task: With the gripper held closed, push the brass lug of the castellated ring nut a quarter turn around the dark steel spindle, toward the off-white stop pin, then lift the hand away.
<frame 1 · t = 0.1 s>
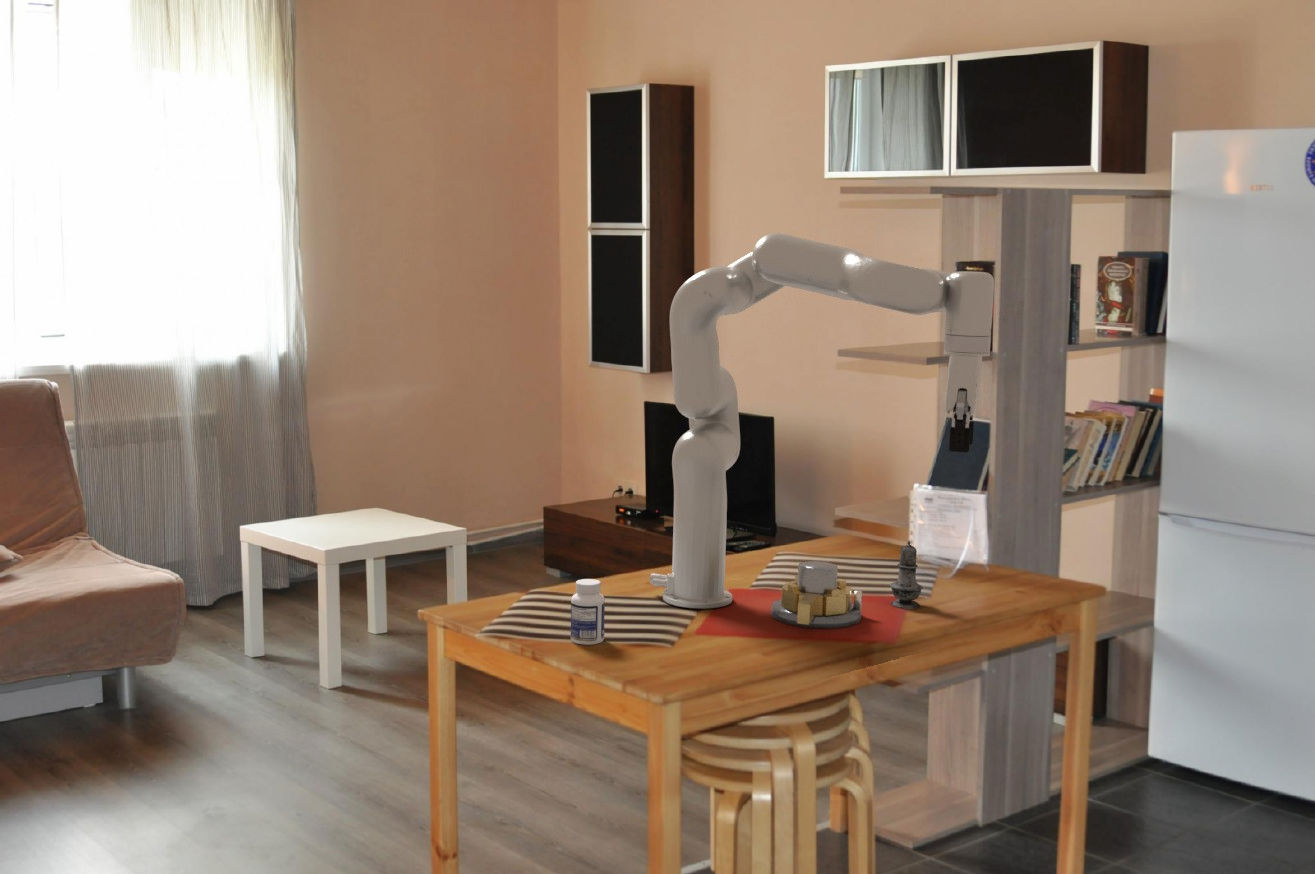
hand: (960, 447, 223), 31 cm above the table, fingers open, 9 cm apart
pill bottle: (587, 641, 214), on the table
ring nut: (813, 598, 229), point 4 cm above the table, hinge at 0.0°
salt shaker: (905, 606, 242), on the table
spindle base: (815, 616, 232), on the table
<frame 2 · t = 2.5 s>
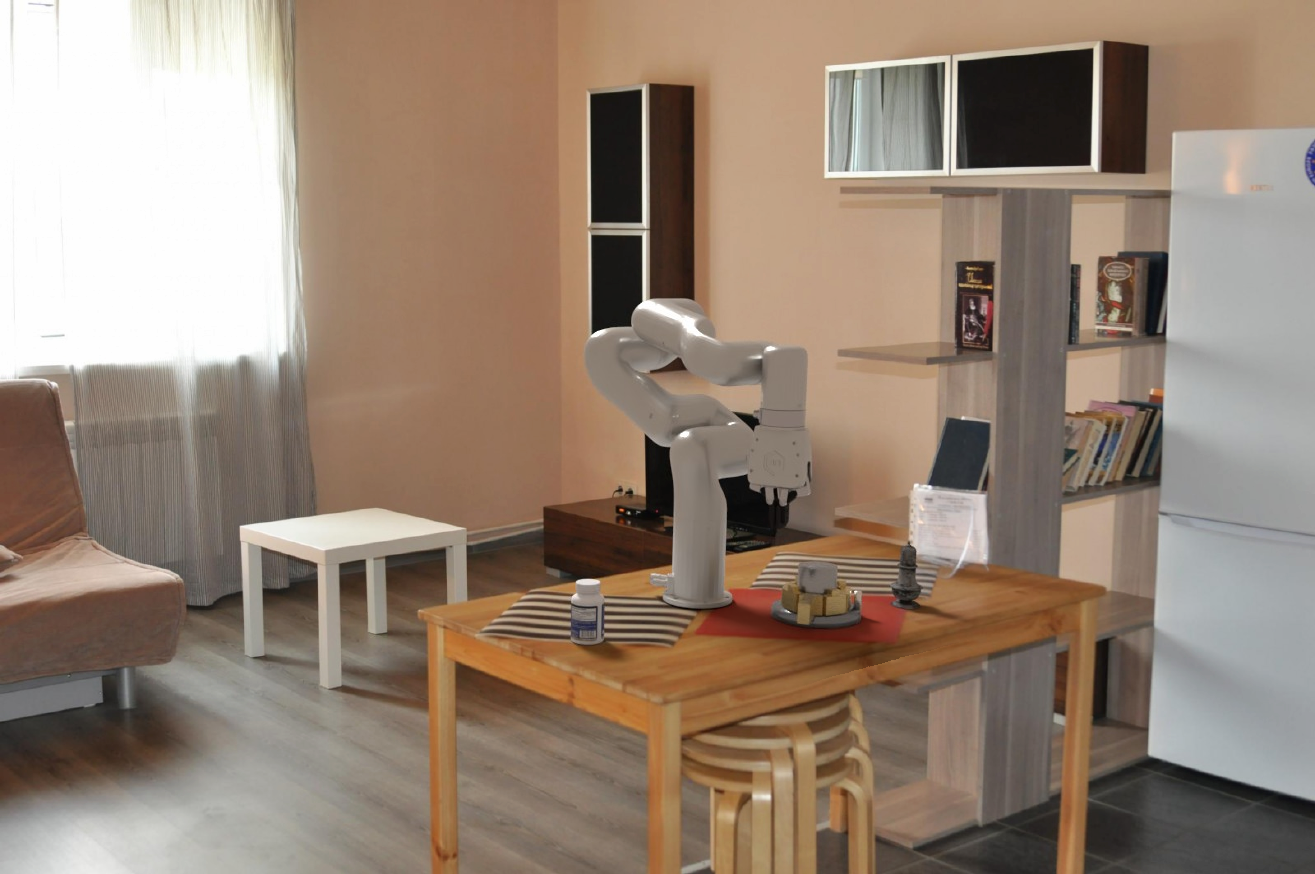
hand: (778, 527, 224), 17 cm above the table, fingers closed
nothing on the table moved.
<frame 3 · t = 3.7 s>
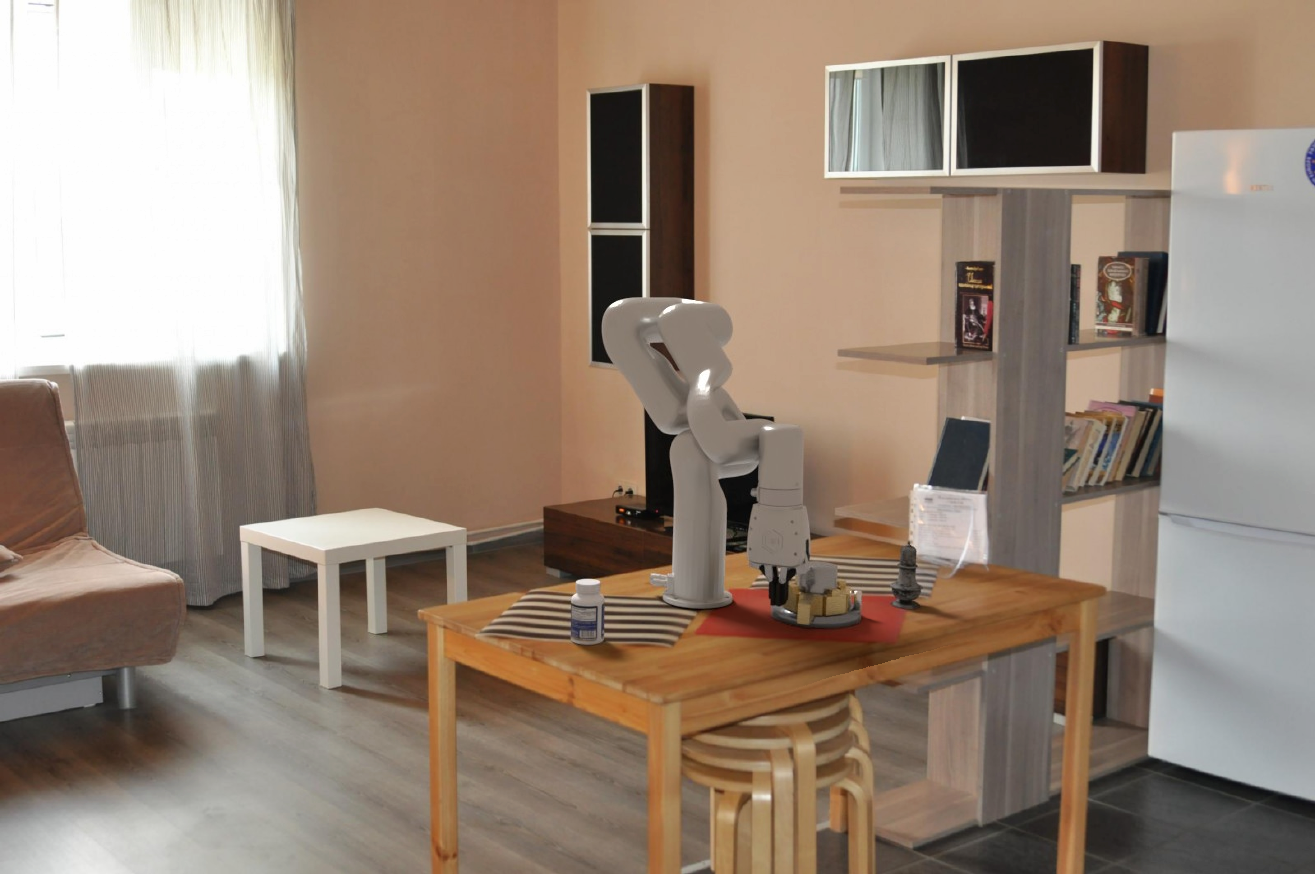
hand: (778, 604, 225), 4 cm above the table, fingers closed
nothing on the table moved.
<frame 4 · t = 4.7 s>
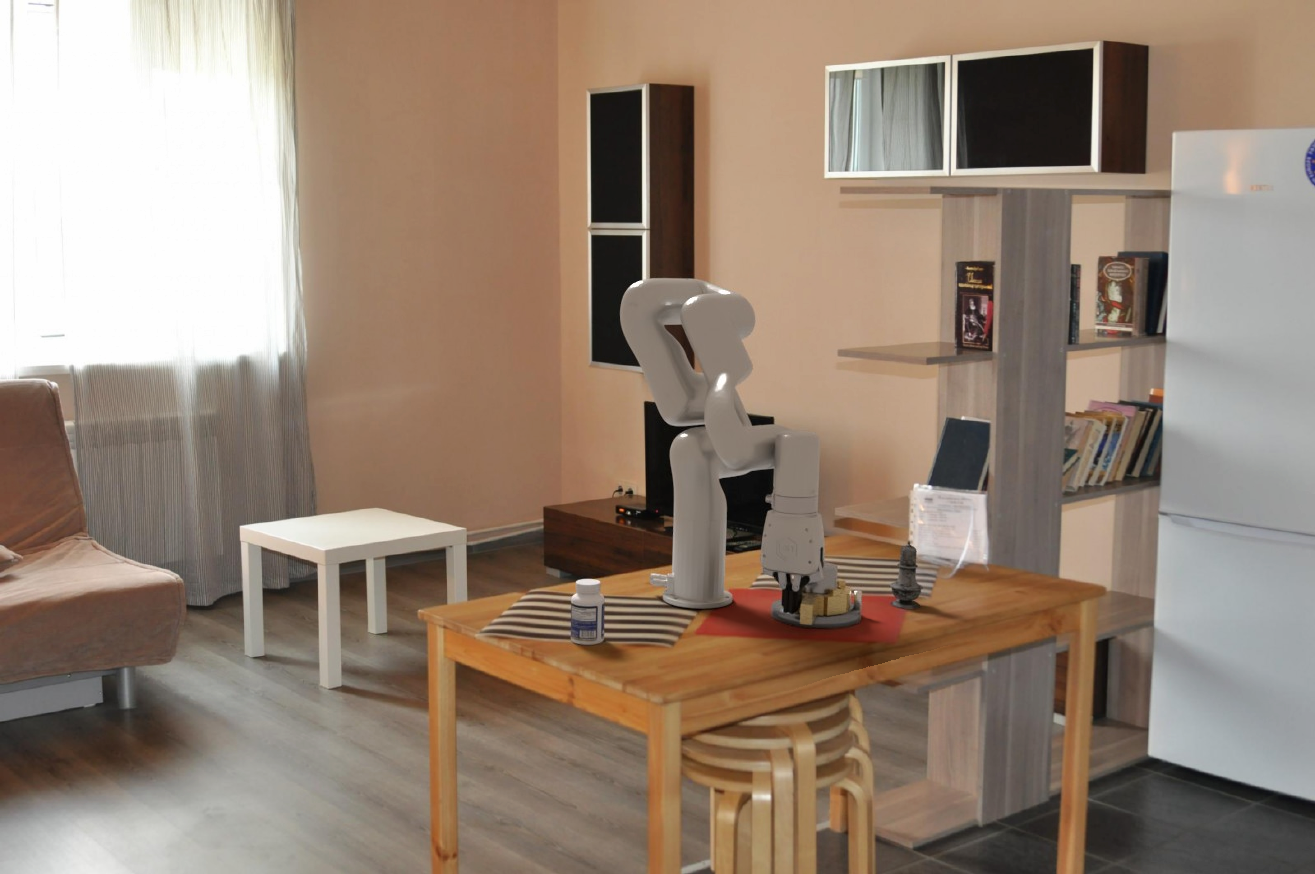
hand: (791, 611, 224), 3 cm above the table, fingers closed
ring nut: (814, 598, 229), point 4 cm above the table, hinge at 2.2°, touching gripper
everything else where it was.
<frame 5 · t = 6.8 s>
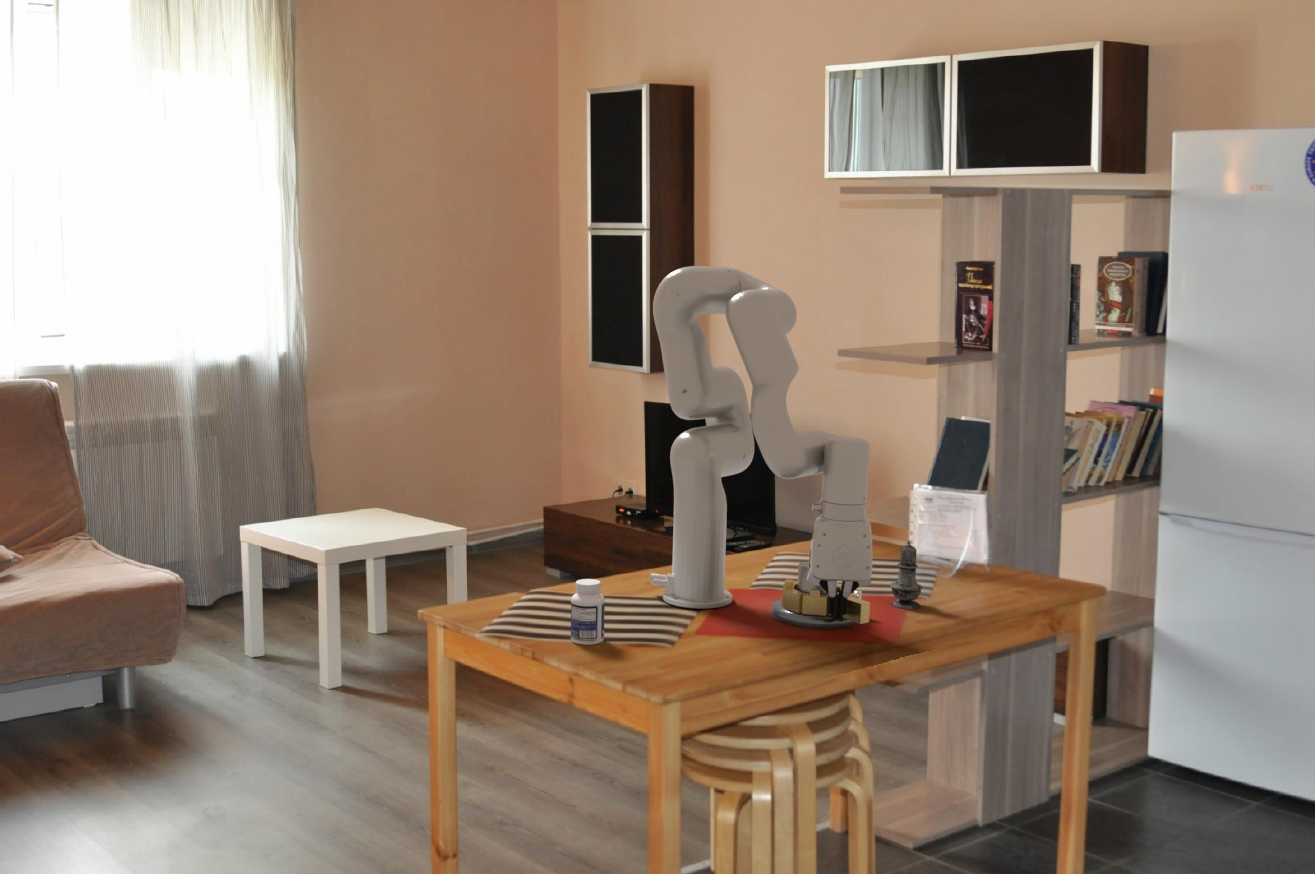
hand: (836, 618, 223), 2 cm above the table, fingers closed
ring nut: (829, 598, 229), point 4 cm above the table, hinge at 51.7°, touching gripper
everything else where it was.
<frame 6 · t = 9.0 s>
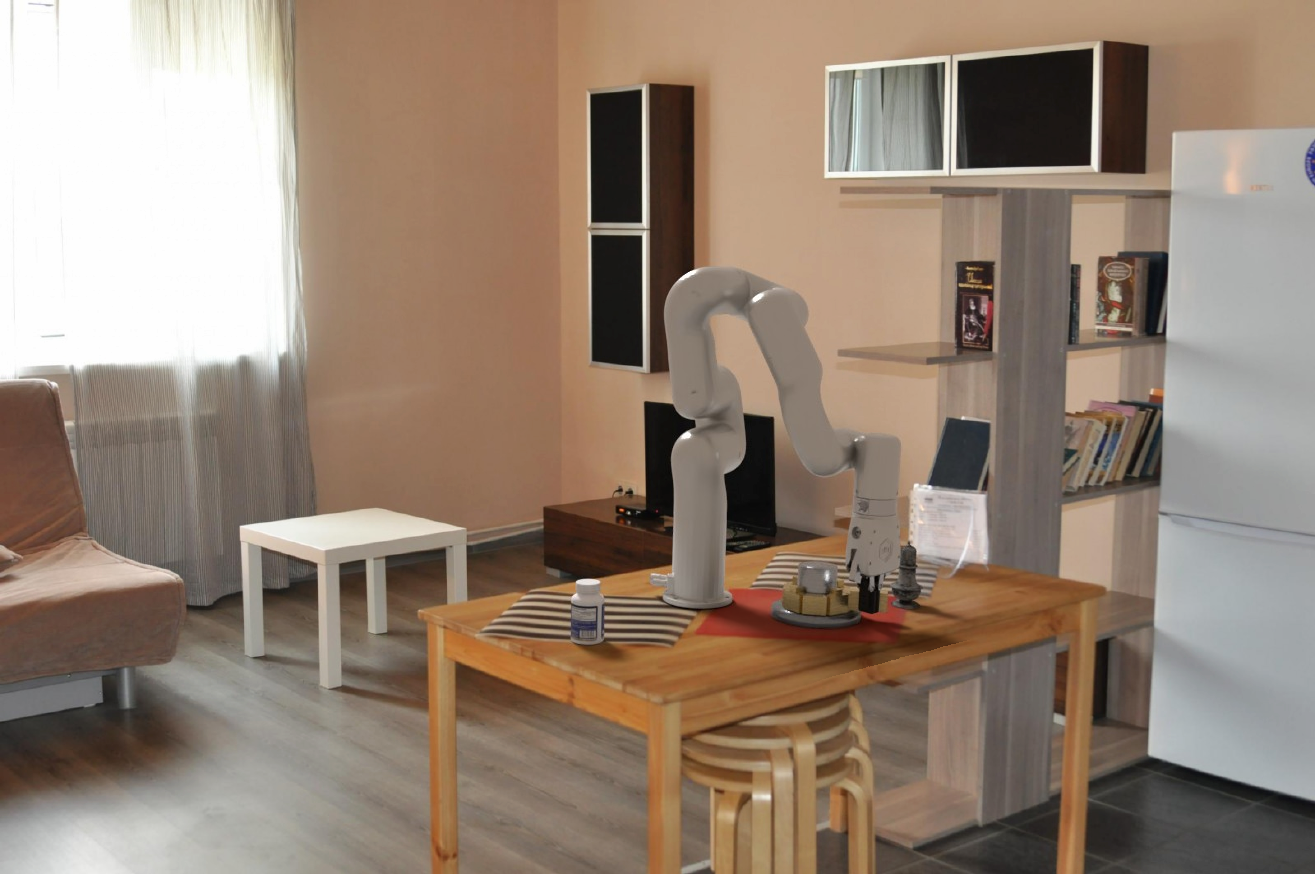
hand: (868, 611, 227), 2 cm above the table, fingers closed
ring nut: (835, 595, 231), point 4 cm above the table, hinge at 96.7°, touching gripper
everything else where it was.
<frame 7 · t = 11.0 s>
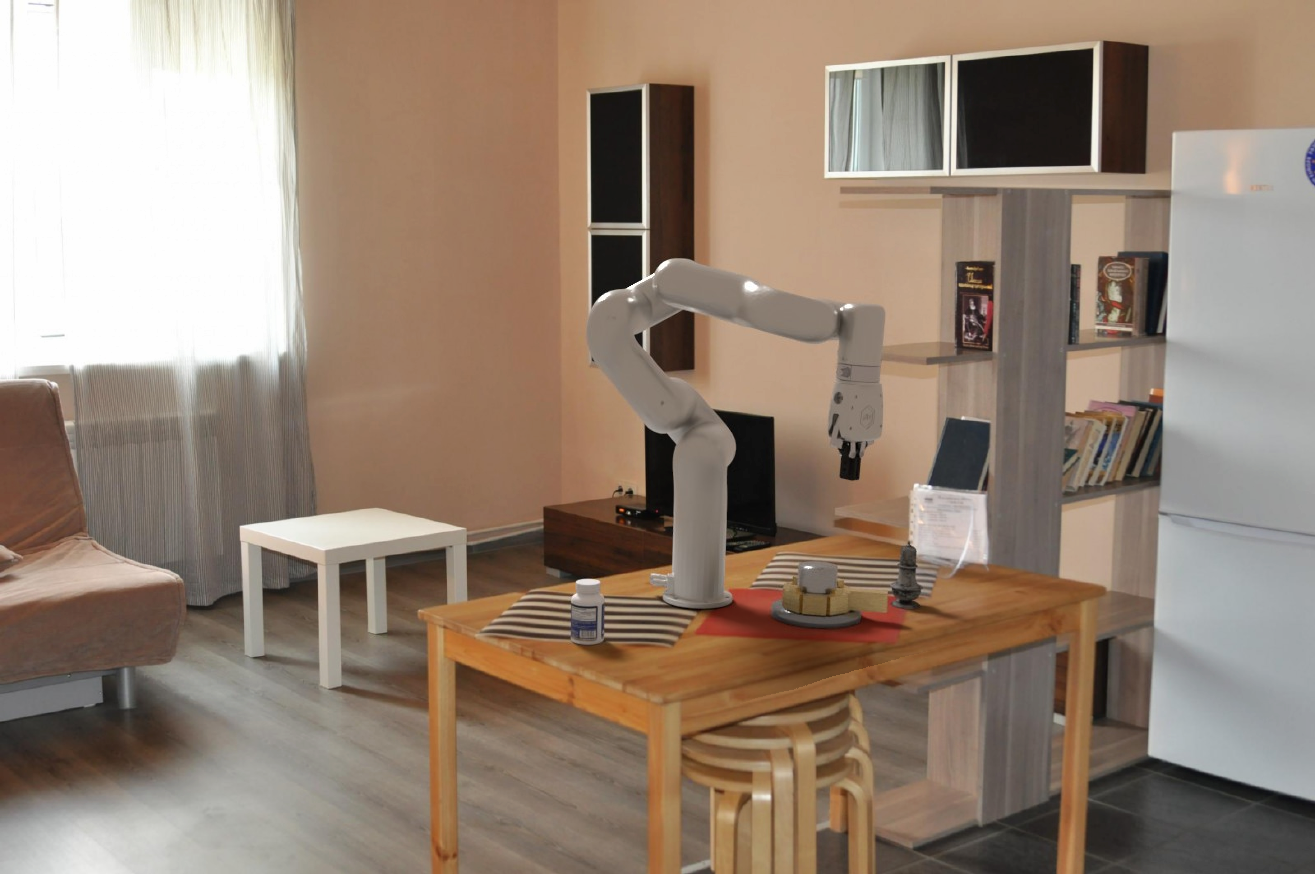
hand: (849, 478, 232), 24 cm above the table, fingers closed
ring nut: (835, 595, 231), point 4 cm above the table, hinge at 96.7°
everything else where it was.
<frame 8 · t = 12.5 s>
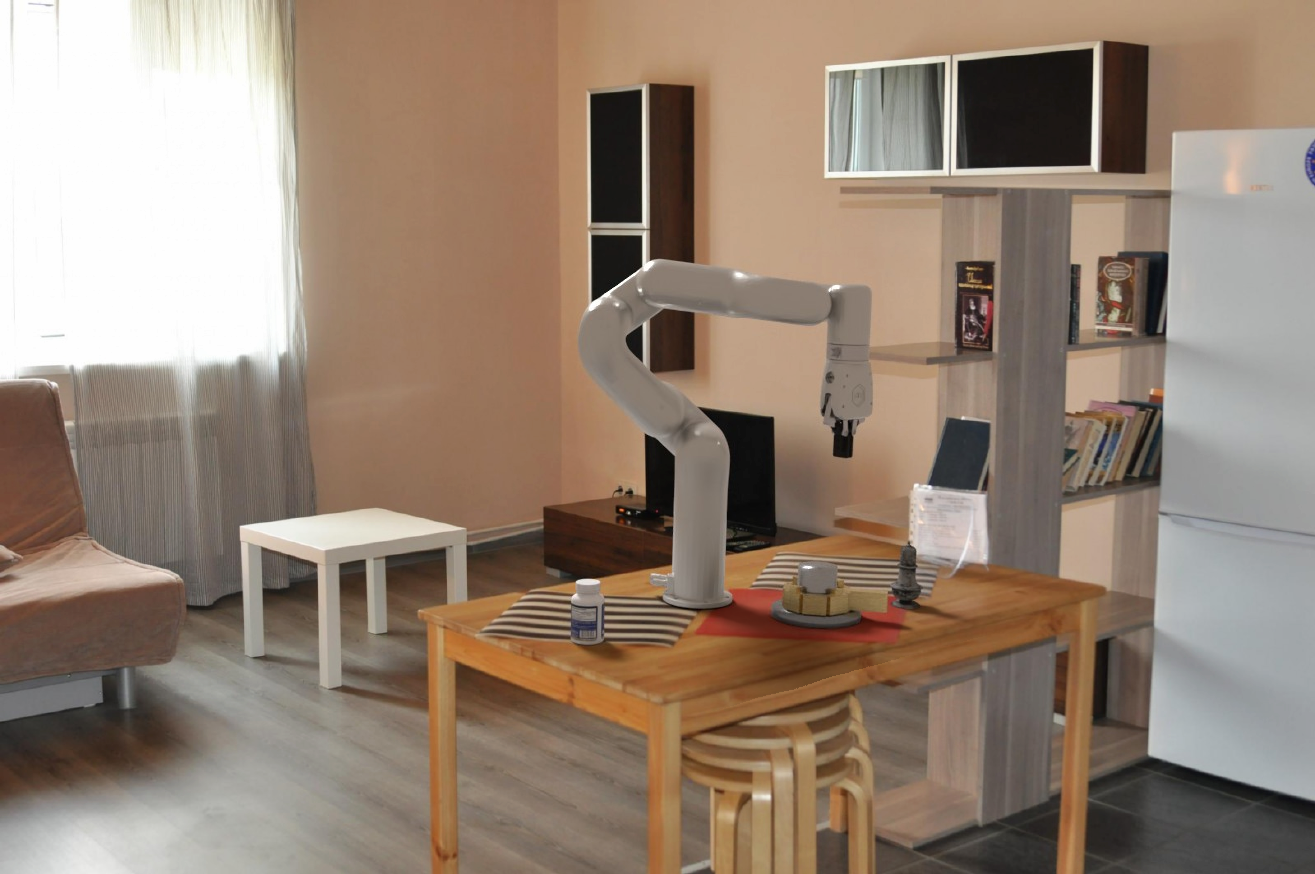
hand: (842, 456, 237), 27 cm above the table, fingers closed
nothing on the table moved.
at the end: ring nut at +97° (first picture: +0°); ring nut touching nothing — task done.
